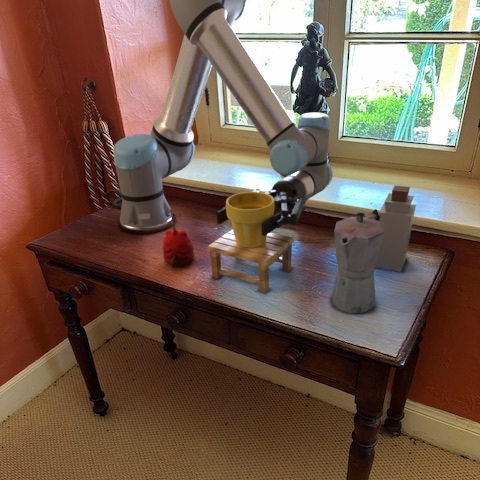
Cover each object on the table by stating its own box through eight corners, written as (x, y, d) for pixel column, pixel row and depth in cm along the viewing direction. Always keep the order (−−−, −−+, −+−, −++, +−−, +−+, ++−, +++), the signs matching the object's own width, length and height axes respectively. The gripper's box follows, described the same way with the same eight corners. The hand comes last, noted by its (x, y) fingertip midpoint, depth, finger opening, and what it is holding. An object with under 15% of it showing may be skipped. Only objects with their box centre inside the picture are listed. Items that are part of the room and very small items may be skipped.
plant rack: (210, 277, 107) (207, 245, 102) (239, 254, 115) (238, 225, 110) (266, 293, 100) (266, 261, 95) (292, 268, 108) (293, 237, 104)
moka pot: (315, 312, 93) (322, 220, 82) (346, 279, 103) (355, 192, 92) (360, 326, 89) (373, 231, 77) (387, 290, 99) (402, 201, 87)
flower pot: (270, 253, 98) (270, 210, 92) (223, 250, 100) (220, 208, 94) (277, 233, 106) (277, 191, 100) (233, 230, 108) (231, 190, 102)
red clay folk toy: (196, 256, 115) (190, 199, 107) (192, 270, 110) (185, 210, 101) (167, 256, 116) (158, 199, 107) (161, 270, 110) (151, 211, 102)
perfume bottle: (405, 258, 110) (419, 185, 99) (401, 271, 105) (415, 195, 95) (377, 254, 112) (387, 181, 102) (371, 266, 107) (382, 192, 97)
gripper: (335, 215, 108) (287, 252, 93) (252, 197, 119) (199, 228, 105) (337, 184, 103) (288, 218, 89) (251, 168, 115) (195, 196, 100)
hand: (240, 223), depth 97 cm, fingers open, 11 cm apart
